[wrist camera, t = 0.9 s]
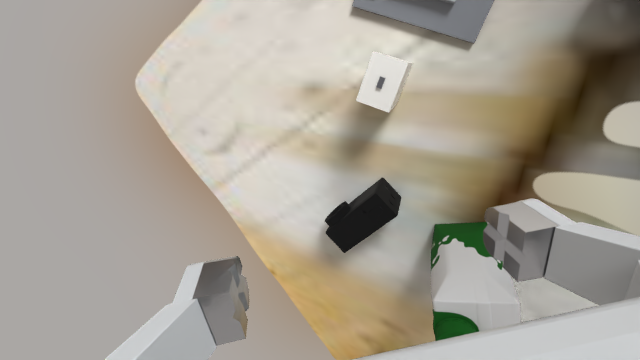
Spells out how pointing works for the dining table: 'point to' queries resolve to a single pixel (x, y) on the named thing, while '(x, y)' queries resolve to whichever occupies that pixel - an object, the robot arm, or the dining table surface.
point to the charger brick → (383, 81)
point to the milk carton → (468, 283)
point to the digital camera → (363, 215)
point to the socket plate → (434, 14)
